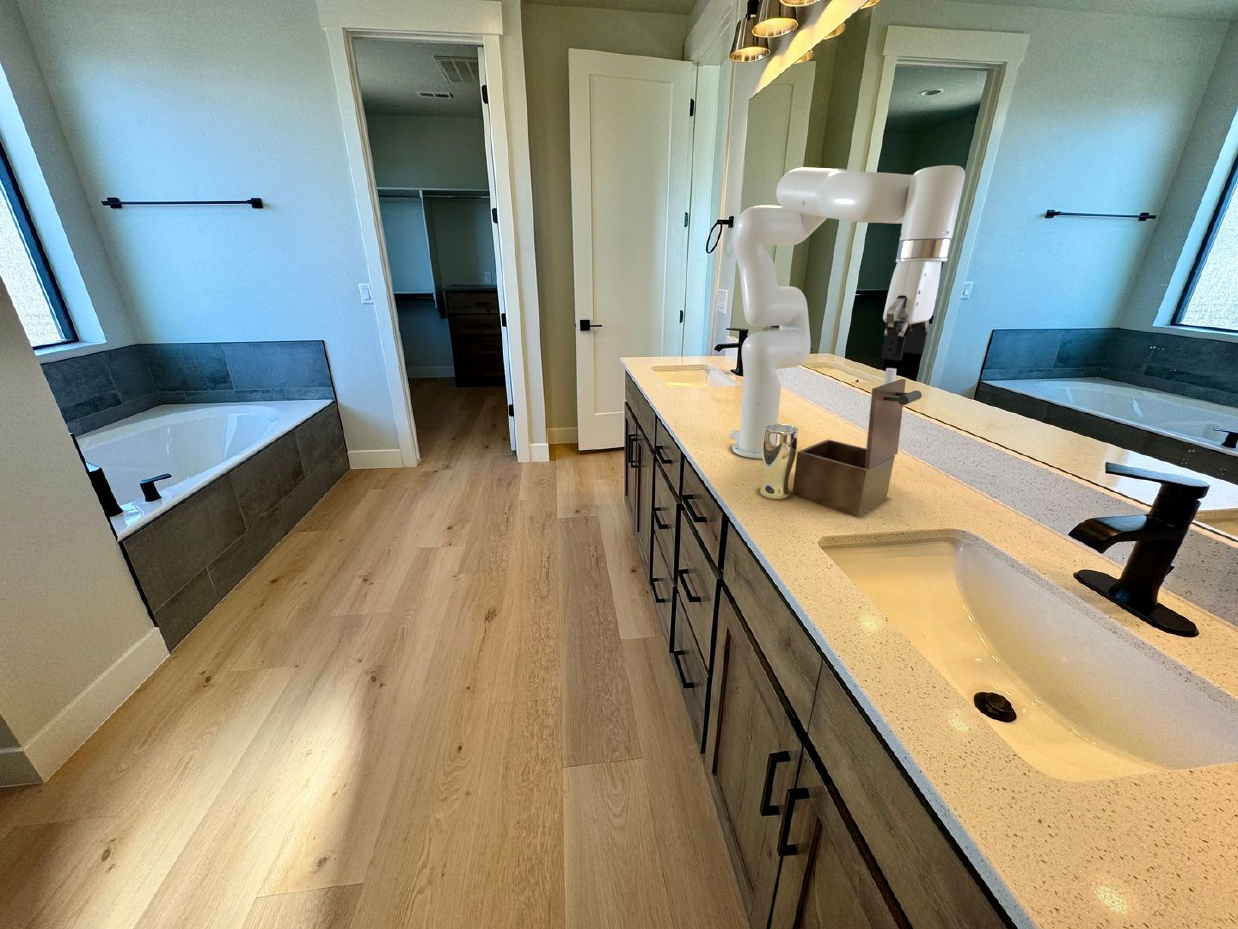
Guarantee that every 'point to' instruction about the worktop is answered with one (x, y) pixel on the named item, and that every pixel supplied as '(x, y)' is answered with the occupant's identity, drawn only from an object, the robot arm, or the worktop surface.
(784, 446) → the beer glass
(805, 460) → the chest
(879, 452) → the lid
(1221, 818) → the worktop surface
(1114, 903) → the worktop surface
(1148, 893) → the worktop surface
